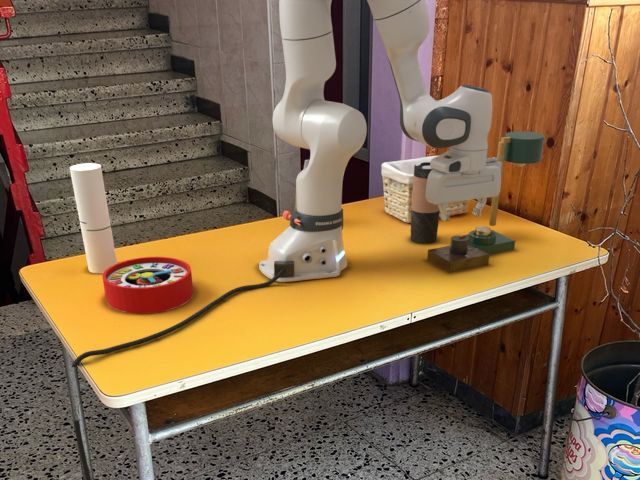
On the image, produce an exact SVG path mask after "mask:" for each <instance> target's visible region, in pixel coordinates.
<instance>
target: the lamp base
mask: <svg viewBox="0 0 640 480" xmlns="http://www.w3.org/2000/svg"><path fill="white" fill-rule="evenodd" d="M463 235H464V234H463ZM463 235H461V236H463ZM465 235H466V237H468V238H469V241H468V244H470V245H472V246H474V247H476V248H478V249H480V250H482V251H484V252H486V253H488V254H490V256H491V255H492V256H493V255H496V254H501V253H507V252H512V251H515V247H516V240H515V239H513V238H511V237H508V236H506V235H505V234H502V233H500V232H498V231H496V230H493V229H491V233H490V236H489V237H479V236H476V235H475V230H471V231H469V232H468V233H467V234H465Z"/></svg>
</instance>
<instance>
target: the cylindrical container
mask: <svg viewBox="0 0 640 480" xmlns="http://www.w3.org/2000/svg"><path fill="white" fill-rule="evenodd" d="M102 169H103V168H102V165H101V164H99V163H95V162H87V163H78V164H74V165H71V166H70V167H69V173H70V178H71V183H72V188H73V193H74V199H75V204H76V210H77V215H78V220H79V226H80V231H81V236H82V241H83V247H84V253H85V257H86V264H87V268H88V269H87V270H88V272H90V273H93V274H103V273H104V271H105V270H106V269H107V268H109V267H110V266H112V265H114V264H117V263H118V261H117V256H116V250H115V249H116V248H115V244H114V243H115V242H114V237H113V230H112V226H111V217H110V212H109V207H108V200H107V194H106V188H105V183H104V176H103V170H102Z"/></svg>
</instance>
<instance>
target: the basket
mask: <svg viewBox="0 0 640 480" xmlns="http://www.w3.org/2000/svg"><path fill="white" fill-rule="evenodd" d="M437 156H438V155H431V156H424V157H418V158H411V159H403V160H395V161H385V162H382V163H381V164H380V165H381V177H382V184H383V185H382V186H383V199H384V200H383V201H384V212H385V213H386V214H389V215H390V216H393V217H394V218H395V219H398V220H400V221H402V222H404V223H408V224H411V208H412V193H413V179H414V166H415V165H416V166H418V165H420V164H421V163H424V162H431V160H432V159H433V158H435V157H437ZM469 202H470V200H466V201H459V202H451V203H448V207H445V208H446V211H447V212H448V213H450V217H451V216H455V215H461V214H466V213H467V212H468V208H469ZM439 219H441V212H440V213H439Z"/></svg>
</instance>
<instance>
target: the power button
mask: <svg viewBox="0 0 640 480" xmlns="http://www.w3.org/2000/svg"><path fill="white" fill-rule="evenodd" d="M491 230H492V229H491V228H490V227H489V226H484V225H483V226H476V227H475V229H474V231H475V235H476V236H479V237H489V236H490V233H491Z"/></svg>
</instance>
